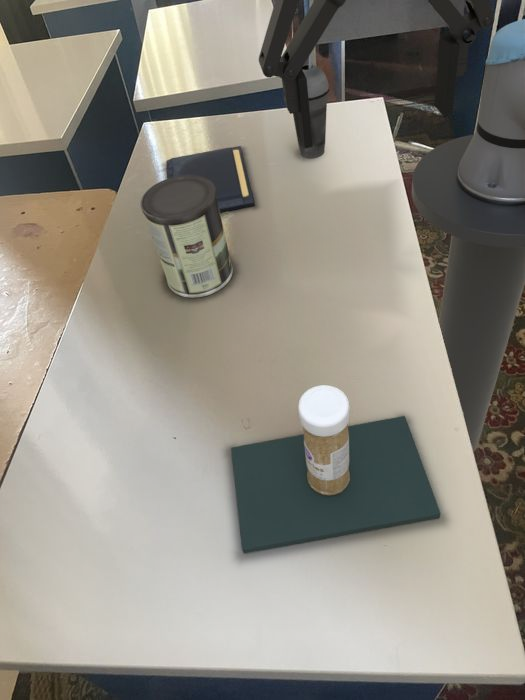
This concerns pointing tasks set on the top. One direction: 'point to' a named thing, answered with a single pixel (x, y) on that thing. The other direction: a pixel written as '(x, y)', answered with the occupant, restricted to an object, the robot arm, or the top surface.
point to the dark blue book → (218, 175)
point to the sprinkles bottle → (326, 438)
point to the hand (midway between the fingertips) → (374, 126)
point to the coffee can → (188, 234)
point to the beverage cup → (315, 110)
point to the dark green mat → (330, 510)
